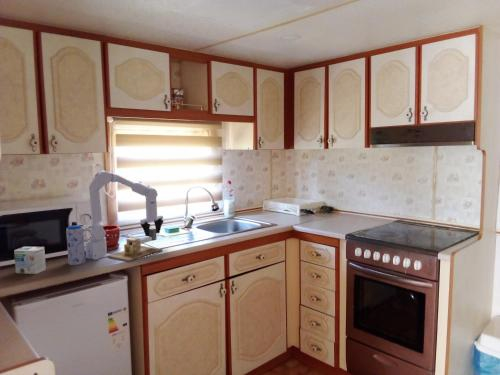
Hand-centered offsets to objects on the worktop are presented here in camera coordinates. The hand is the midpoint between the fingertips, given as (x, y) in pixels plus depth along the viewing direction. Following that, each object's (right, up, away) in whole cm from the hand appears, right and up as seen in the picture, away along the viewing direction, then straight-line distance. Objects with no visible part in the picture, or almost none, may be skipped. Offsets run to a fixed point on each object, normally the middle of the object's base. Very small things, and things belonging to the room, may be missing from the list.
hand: (152, 234), depth 213 cm
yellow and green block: (-3, -4, -5) cm, 7 cm away
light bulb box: (-47, -13, -34) cm, 59 cm away
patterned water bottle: (-32, -11, -21) cm, 40 cm away
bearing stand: (-7, -9, -9) cm, 15 cm away
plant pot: (-25, -8, +3) cm, 27 cm away
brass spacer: (-9, -9, -13) cm, 18 cm away
